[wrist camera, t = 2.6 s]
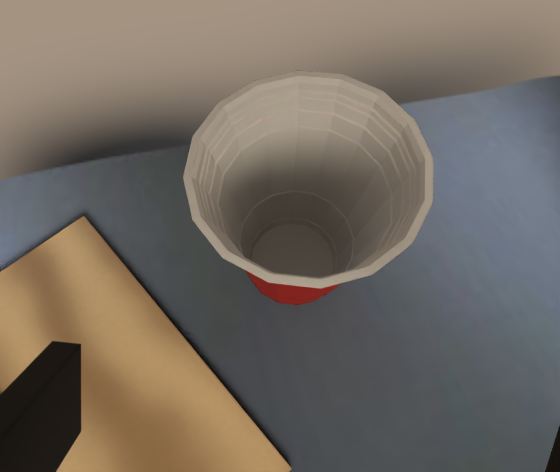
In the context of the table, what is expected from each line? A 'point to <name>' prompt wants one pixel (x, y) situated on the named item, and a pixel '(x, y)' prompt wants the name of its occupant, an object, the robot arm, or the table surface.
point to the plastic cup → (308, 182)
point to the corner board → (123, 365)
